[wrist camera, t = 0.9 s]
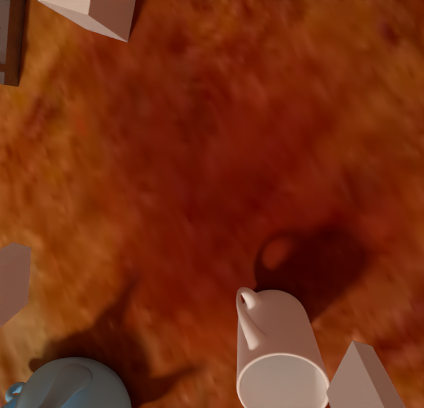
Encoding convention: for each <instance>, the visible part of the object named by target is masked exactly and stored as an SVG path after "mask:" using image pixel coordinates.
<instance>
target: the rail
mask: <svg viewBox="0 0 424 408" xmlns="http://www.w3.org/2000/svg"><path fill="white" fill-rule="evenodd" d="M25 2H26V0H0V83H1V84H4V85H10V86H17V87H18V80H19V69H20V58H21V47H22V35H23V24H24V13H25Z"/></svg>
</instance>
